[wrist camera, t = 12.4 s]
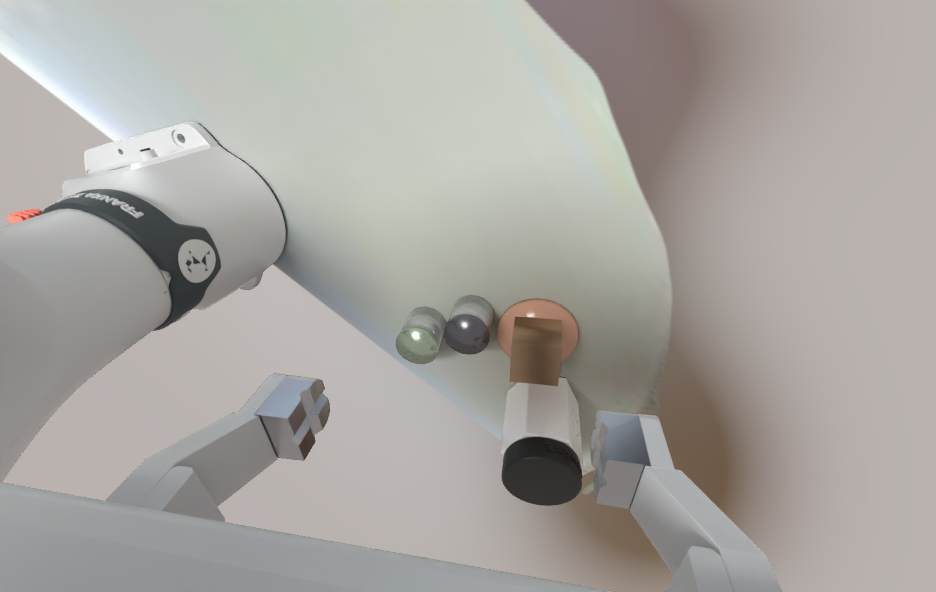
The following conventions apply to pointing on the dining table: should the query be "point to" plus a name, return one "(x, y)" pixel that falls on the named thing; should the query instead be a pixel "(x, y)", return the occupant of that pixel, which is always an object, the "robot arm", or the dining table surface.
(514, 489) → the jar
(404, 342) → the tin
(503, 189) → the dining table surface
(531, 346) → the walnut block
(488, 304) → the tin
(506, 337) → the pink glossy round part
